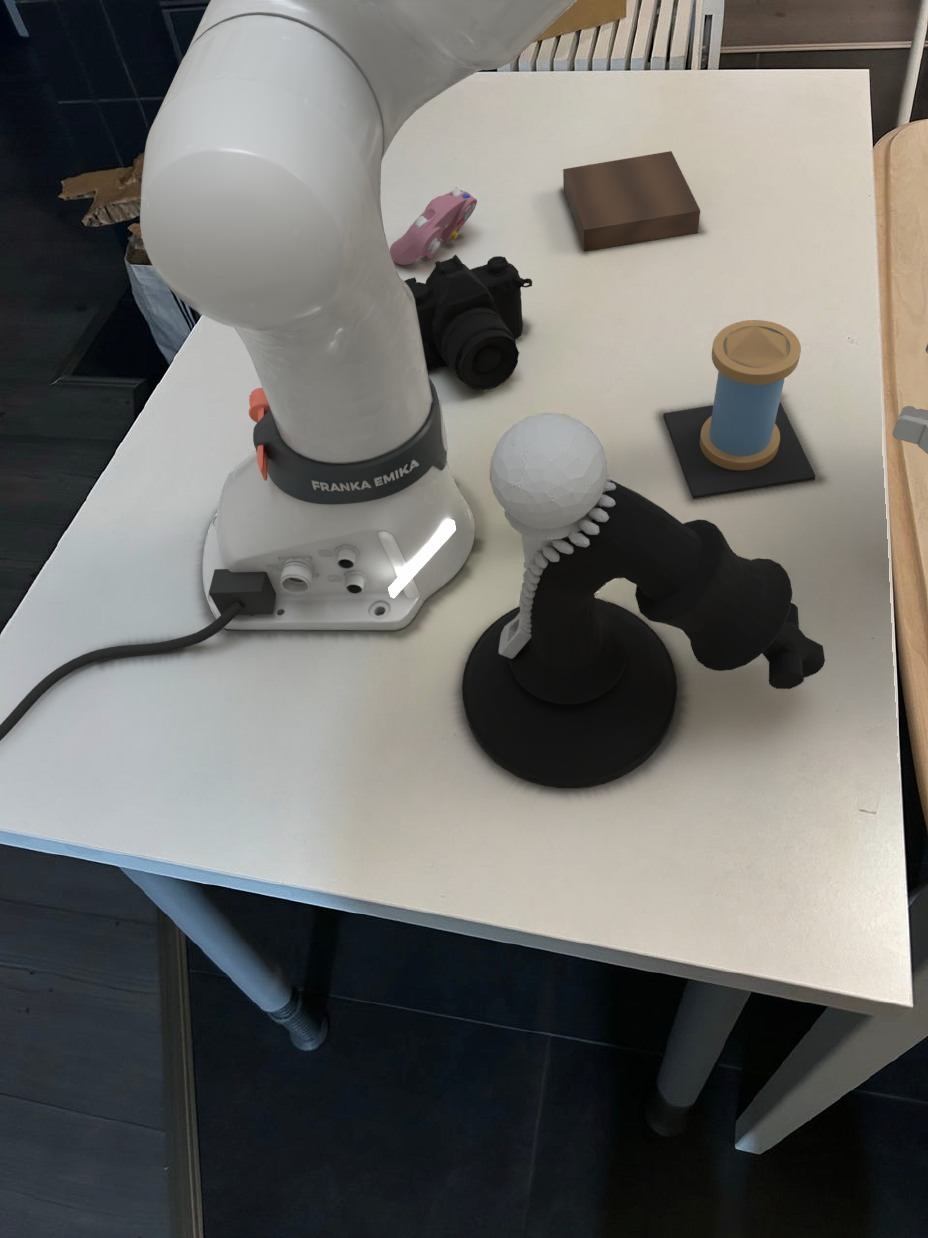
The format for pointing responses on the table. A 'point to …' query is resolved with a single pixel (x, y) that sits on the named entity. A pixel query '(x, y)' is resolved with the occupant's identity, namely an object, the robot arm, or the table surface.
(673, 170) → the platform
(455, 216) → the pink toy car
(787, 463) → the coaster
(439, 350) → the film camera
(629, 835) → the table surface
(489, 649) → the sculpture
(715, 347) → the spool
